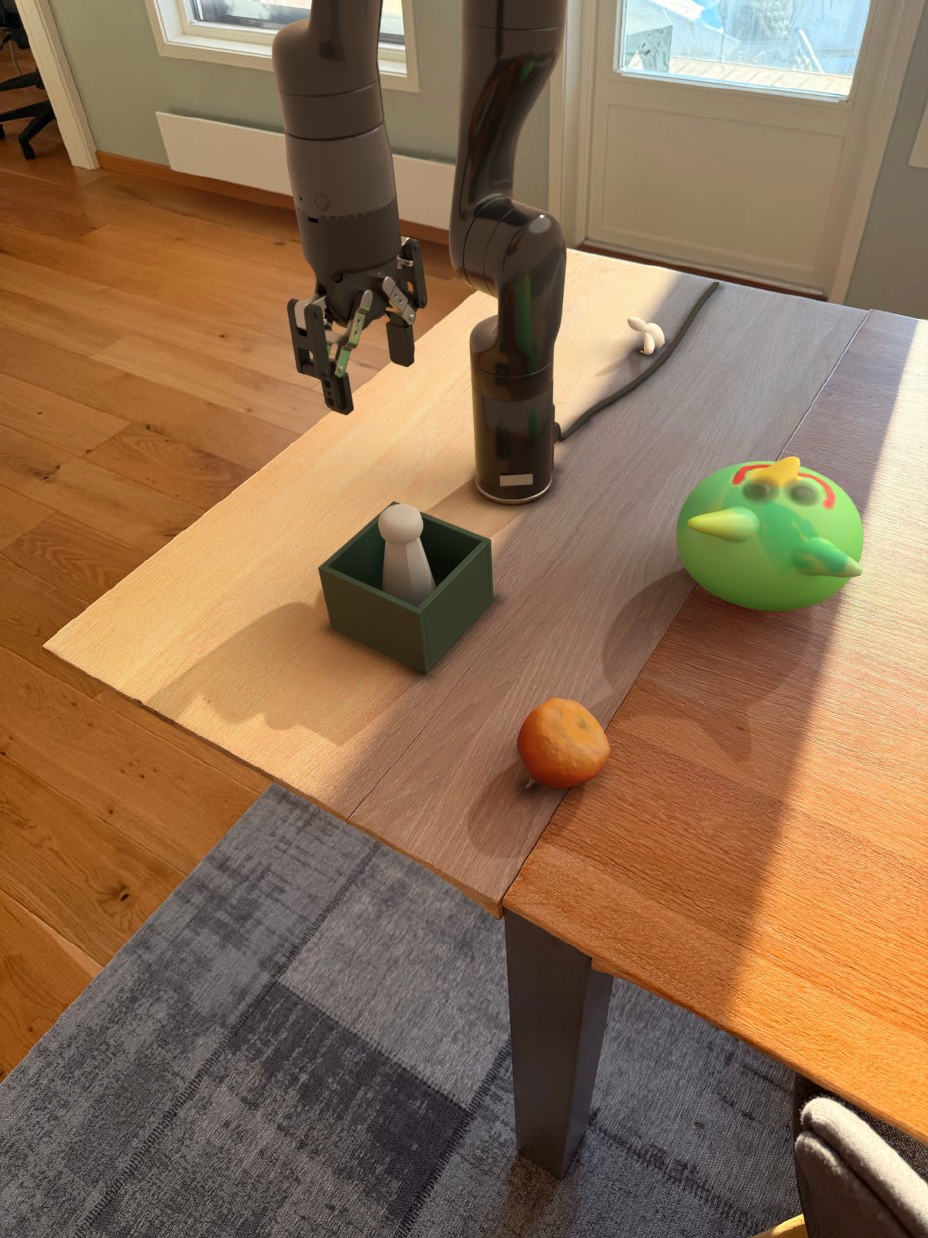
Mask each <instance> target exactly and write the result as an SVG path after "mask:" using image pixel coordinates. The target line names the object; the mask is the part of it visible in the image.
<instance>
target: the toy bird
mask: <svg viewBox="0 0 928 1238" xmlns="http://www.w3.org/2000/svg"><path fill="white" fill-rule="evenodd" d="M864 537H865V536H864V526H863V523H862V518H861V515H860V513H859V511H858V508H857V507H856V504H855V503H854V502H853V500H852V499H851V497H850V496H849V495H848V494H847V493H846V491H845V490H844V489H843V488H842V487H840V486H839V485H838V484H836V482H834V481H833V480H831V479H829V478H828V477H826V476H825V475H822V474H821V473H819V472H817V471H814V470H812V469H809V468H807V467H804V466H801V459H800V458H799V457H798V456H794V455H792V456H787V457H785V458H782V459H780V460H778V461H774V460H773V461H772V460H769V461H768V460H757V461H747V462H741V463H736V464H732V465H729V466H726V467H723V468H721V469H718V470H716V471H715V472H713V473H711V474H710V475H708V476H707V477H705V478H704V479H703V480H702V481H700V482H699V483H698V484H697V485H695V487H694V488H693V489H692V491H691V492H690V493H689V494H688V495H687V497H686V499H685V501H684V502H683V504H682V506H681V509H680V511H679V515H678V518H677V522H676V534H675V539H676V546H677V551H678V554H679V557H680V560H681V563H682V564H683V566H684V568H685V569H686V571H687V573H688V574H689V575H690V576H691V578H692V579H693V580H694V581H695V582H696V583H697V584H699V586H700V587H702V588H703V589H705V590H706V591H707V592H708V593H710V594H712V595H714V596H715V597H717V598H719V599H720V600H721V599H722V600H723V601H725V602H728V603H730V604H732V605H736V606H739V607H742V608H747V609H751V610H758V611H763V612H765V611H766V612H785V611H794V610H800V609H801V610H802V609H804V608H809V607H812V606H816V605H817V604H819V603H822V602H825V601H826V600H828V599H829V598H831V597H832V596H834V595H835V594H837V593H838V592H839V591H840V590H841V589H843V587H844V586H845V585H846V584H848V582H849V581H850V580H851V578H856V577H859V576H861V575H862V574H863V571H864V570H863V567H862V566H861V564H859V563H860V562H861V561H860V560H861V557H862V554H863V549H864V540H865V538H864Z"/></svg>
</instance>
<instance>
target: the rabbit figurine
mask: <svg viewBox="0 0 928 1238" xmlns="http://www.w3.org/2000/svg"><path fill="white" fill-rule="evenodd" d="M626 321H627V325H628V327H629V328H630V329H632V330H634V331H636V332H641V334H642V335H641V336H642V339H643V350H641V349H639V352H640V353H642V354H644V355H646V356H649V355H651V354H653V353H654V350H659V349H661V348H662V347H663V346H664V345H665V344H666V342H665V335H664V334H665V333H664V332H663V330H662V328H661V327H660V326H659V325H658V324H656V323H653V322H647V323H646V321H645V320H643V319H642V318H639V317H635V316H632V317H631V316H630V317H628V318H627V320H626Z"/></svg>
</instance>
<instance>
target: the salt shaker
mask: <svg viewBox="0 0 928 1238" xmlns="http://www.w3.org/2000/svg"><path fill="white" fill-rule="evenodd" d="M383 510H384V509H383ZM383 510H382V511H383ZM382 511H381V512H382ZM420 512H421V511H420V510H419V509H418V508H416V507H415V506H413V505H411V504H406V503H400V504H396V505H393V506H390V507H388V508H387V509H386V510H384V511H383V512H382V513H381V515H380V517H379V519H378V526H379V530H380V533H381V536H382V538H383V539H385V540H386V542H385V554H384V567H383V579H382V592H385V593H387V594H389V595H391V596H393V597H396V598H398V599H400V600H402V601H405V602H407V603H409V604H411V605H413V606H416V607H418V606H419V605H420V604H421V603H422V602H423V601H424V600H425V599H426V598H427V597H428V596H429V595H430V594H431V593H432V592H433V591H434V590H435V589H436V585H435V582H434V579H433V576H432V573H431V570H430V567H429V564H428V562H427V559H426V556H425V553H424V550H423V547H422V544H421V541H420V538H419V537H420V535H421V532H422V529H423V521H422V518H421V514H420Z"/></svg>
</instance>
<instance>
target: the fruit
mask: <svg viewBox="0 0 928 1238" xmlns="http://www.w3.org/2000/svg"><path fill="white" fill-rule="evenodd" d="M516 747H517V748H516V749H517V752H518V754H519V756H520V759H521V762H522V763H523V766H524V770H525V771H526V773H527V776H528V778H529V781H528V783H527V784H526V785H525V788H526V789H529V787H530V788H531V786H532V785H534V783H537V784H539V785H540V786H542V787H547V788H552V789H559V790H560V789H561V790H562V789H569V788H572V787H576V786H581V785H582V784H584V783H587V782H589V781H591V780H593V779H594V778H595V777H597V776H598V775H599V774H600V773H601V772H602V771H603V769H605V767H606V764H607V761H608V759H609V756H610V755H611V751H612V749H611V746H610V744H609V739H608V737H607V735H606V733H605V731H604V730H603V728H602V726H601V725H600V723H599V722H598V720H597V719H596V718H595V717H594V716H593V714H591V712H590V711H589V710H588V709H587V708H586V707H585V706H584V705H582V704H581V703H579V702H578V701H576V700H573V699H569V698H567V699H566V698H565V699H563V698H561V697H551V698H548V699H547V700H546V701H544V702H543V703H542V704H541V705H538V706H537V707H535V708H534V709H532V710H531V711H530V712H529V713H528V715H527V716H526V717H525V719H524V721H523V722H522V724H521V727H520V728H519V731H518V735H517V739H516Z"/></svg>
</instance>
